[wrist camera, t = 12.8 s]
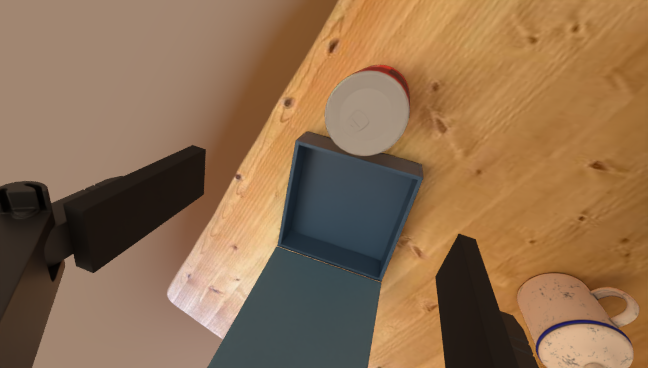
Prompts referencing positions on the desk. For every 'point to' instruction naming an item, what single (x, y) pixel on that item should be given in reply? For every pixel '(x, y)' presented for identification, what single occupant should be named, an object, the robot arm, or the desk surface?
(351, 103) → the canned food
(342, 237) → the box
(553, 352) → the teacup with lid
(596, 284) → the desk surface
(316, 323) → the lunchbox lid
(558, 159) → the desk surface
